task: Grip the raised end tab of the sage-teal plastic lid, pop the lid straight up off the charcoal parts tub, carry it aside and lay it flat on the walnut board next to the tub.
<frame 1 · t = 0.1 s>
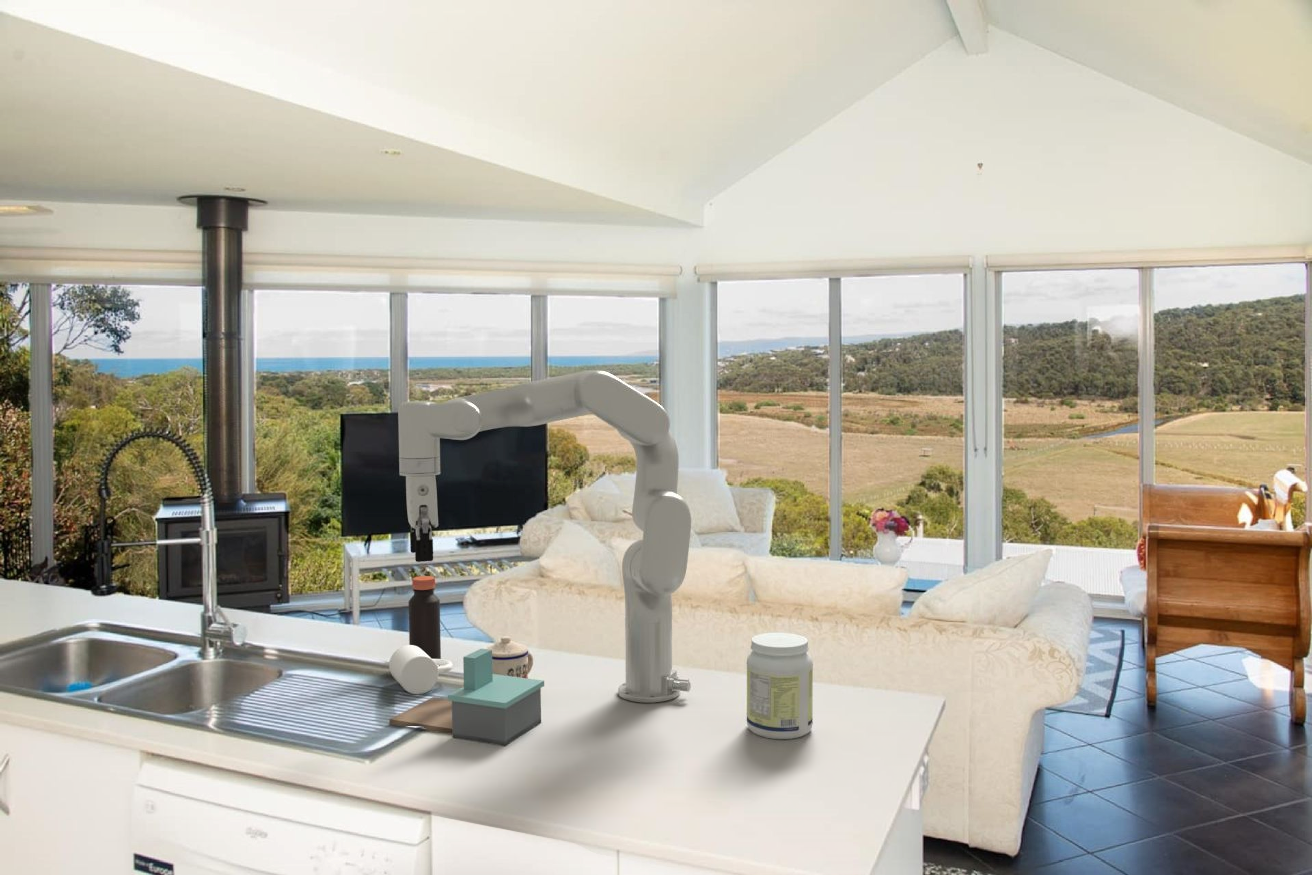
hand: (421, 556, 199), 31 cm above the worktop, tool pointing down, fingers open, 9 cm apart
lid: (497, 692, 194), point 7 cm above the worktop, touching tub
mug: (423, 687, 221), on the worktop
supplement tub: (779, 730, 194), on the worktop
teacup with lid: (511, 691, 217), on the worktop
board: (442, 717, 201), on the worktop
tub: (497, 729, 194), on the worktop
bottle: (425, 667, 235), on the worktop
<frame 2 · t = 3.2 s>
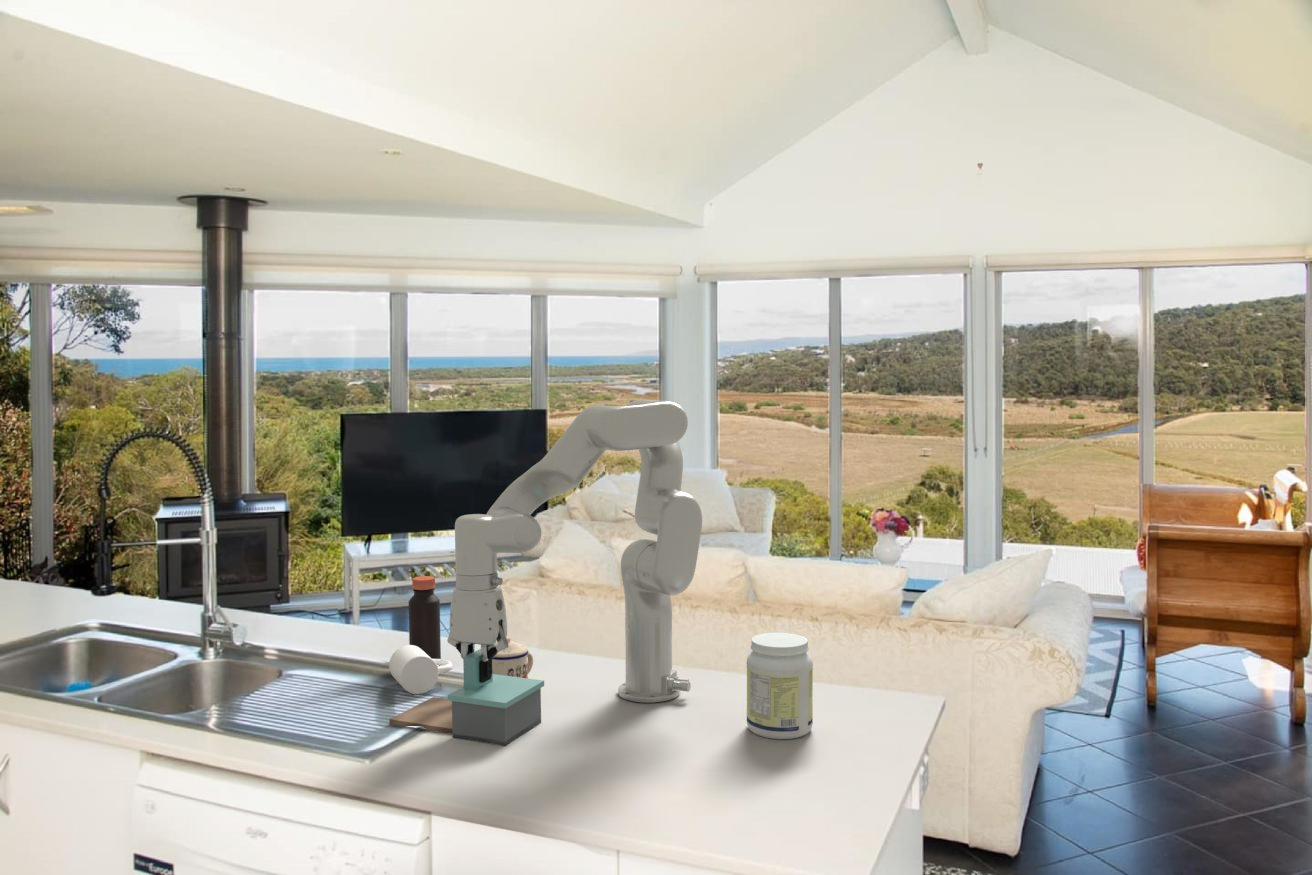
hand: (478, 678, 195), 9 cm above the worktop, tool pointing down, fingers closed on lid
lid: (497, 692, 194), point 7 cm above the worktop, touching gripper, tub
everything else where it was.
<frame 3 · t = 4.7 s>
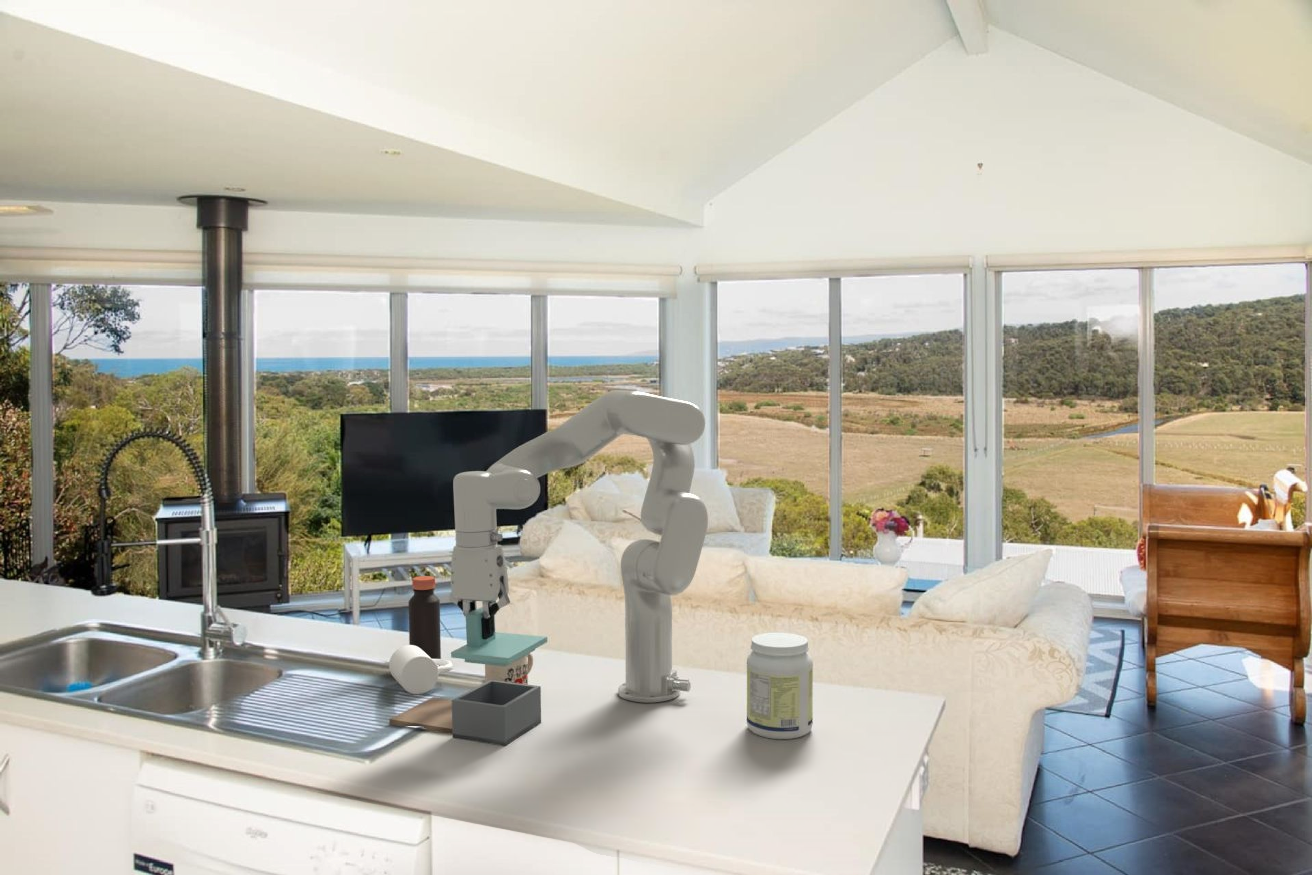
hand: (480, 636, 195), 17 cm above the worktop, tool pointing down, fingers closed on lid
lid: (500, 649, 193), point 15 cm above the worktop, touching gripper
everything else where it was.
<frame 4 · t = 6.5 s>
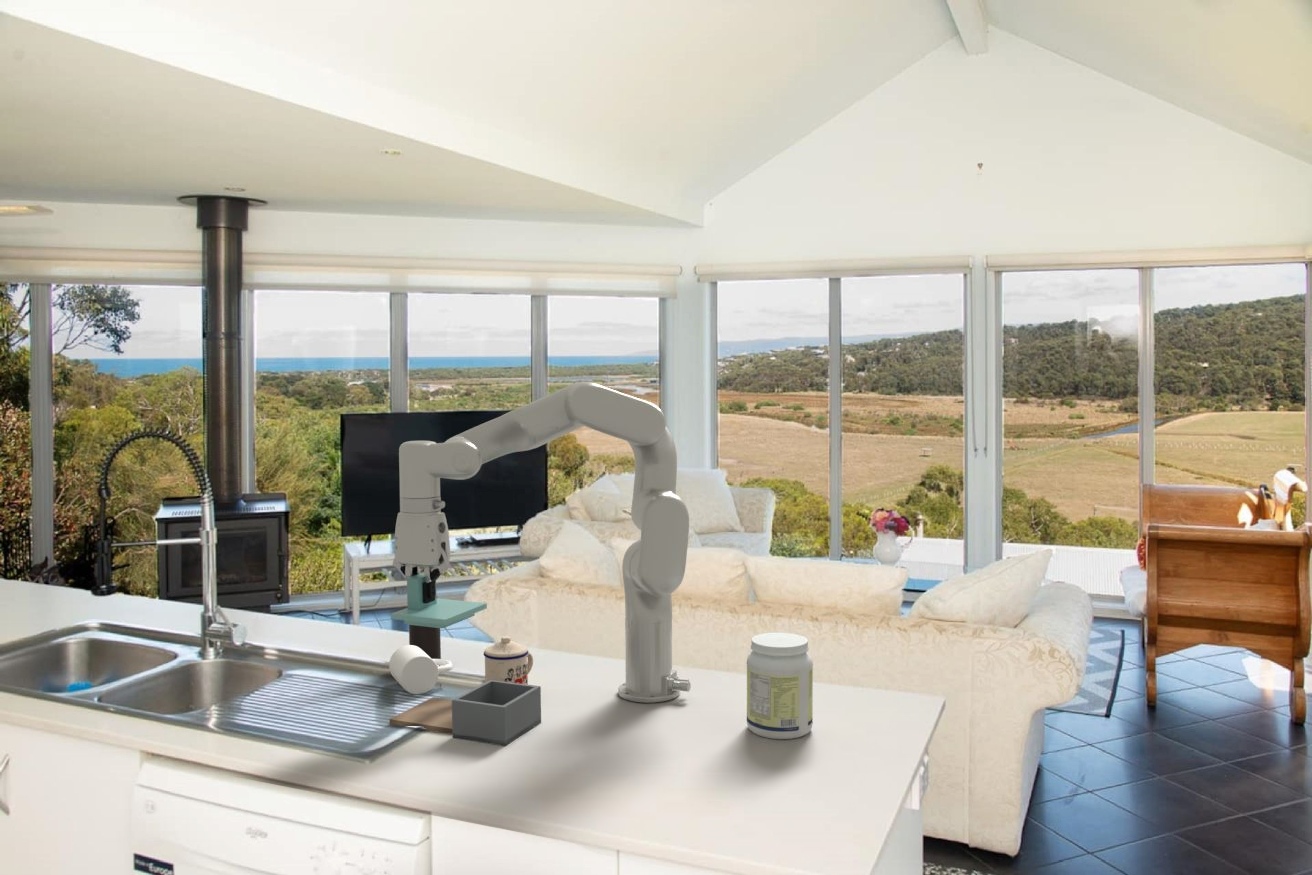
hand: (422, 600, 201), 22 cm above the worktop, tool pointing down, fingers closed on lid
lid: (439, 613, 200), point 20 cm above the worktop, touching gripper
everything else where it was.
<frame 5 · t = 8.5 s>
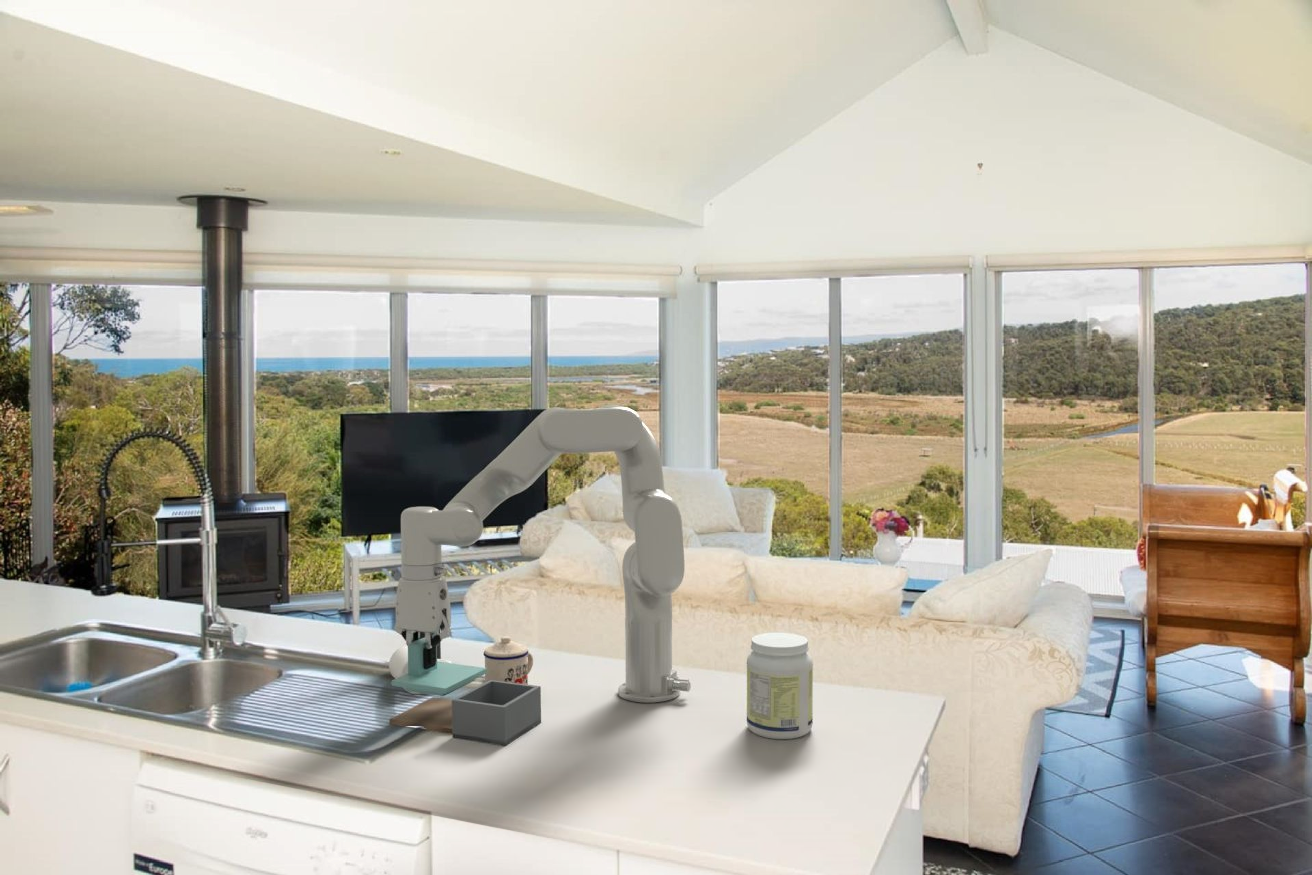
hand: (422, 665, 202), 10 cm above the worktop, tool pointing down, fingers closed on lid
lid: (440, 679, 200), point 7 cm above the worktop, touching gripper
everything else where it was.
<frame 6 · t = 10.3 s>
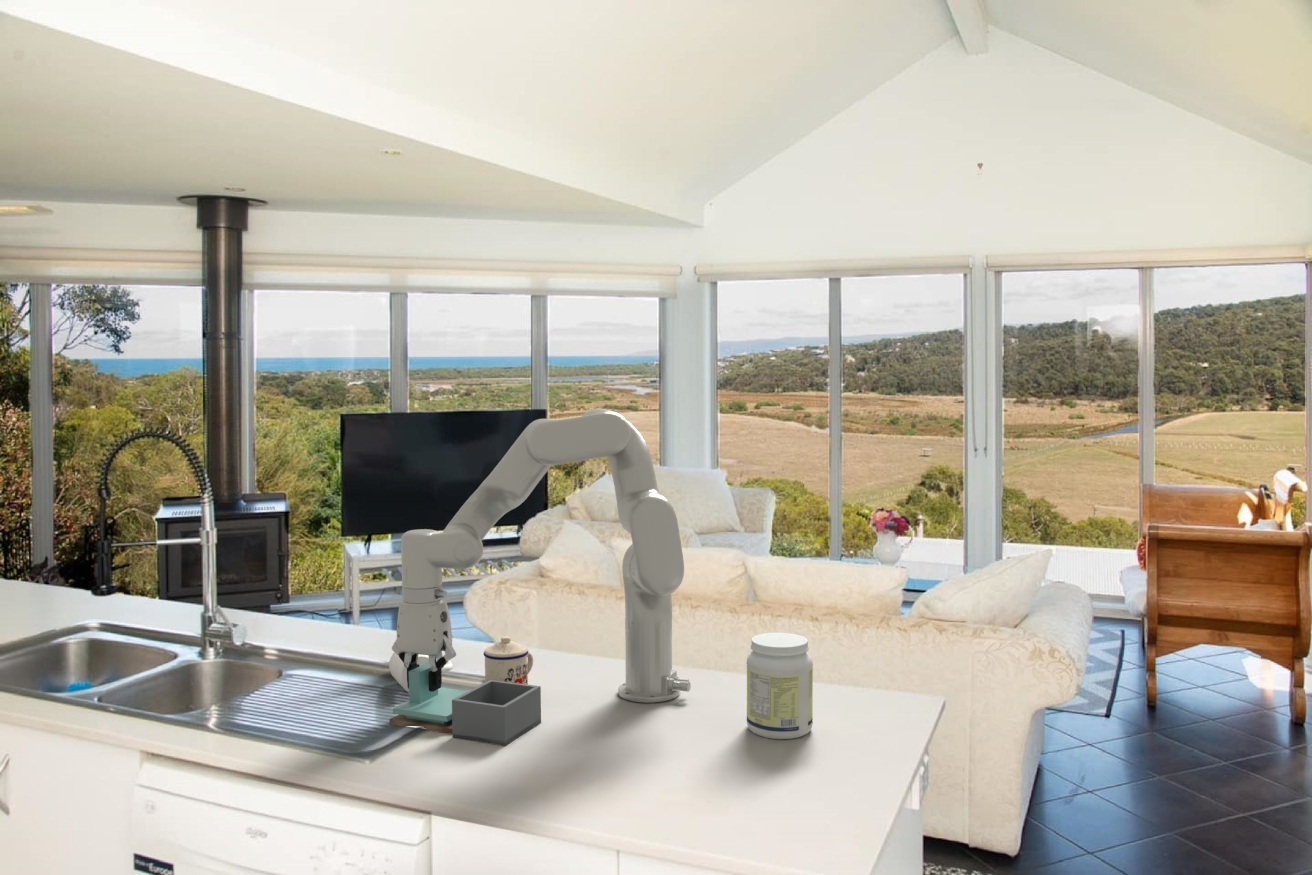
hand: (424, 687, 202), 5 cm above the worktop, tool pointing down, fingers open, 4 cm apart
lid: (441, 705, 201), point 2 cm above the worktop, touching board
everything else where it was.
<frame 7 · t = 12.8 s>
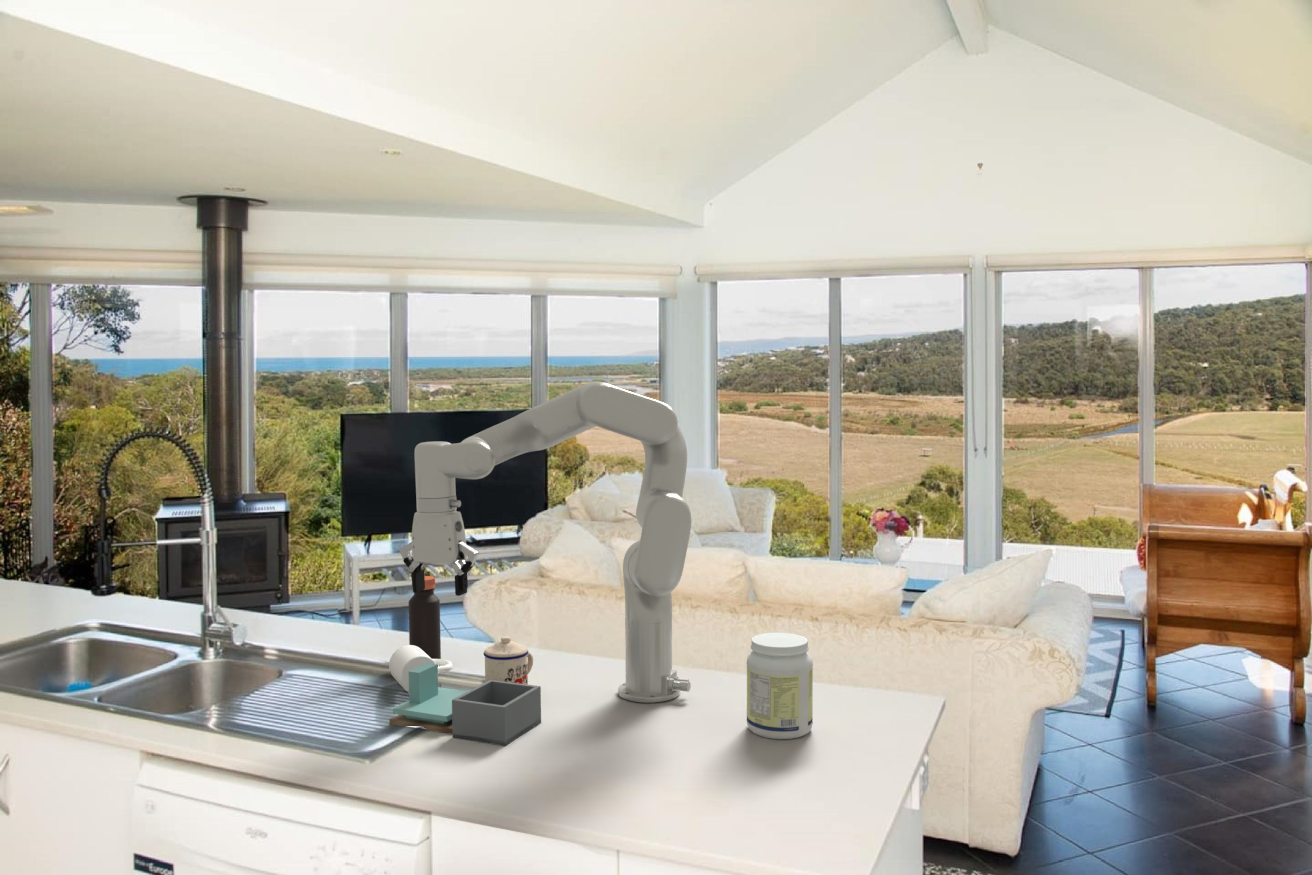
hand: (440, 592, 205), 23 cm above the worktop, tool pointing down, fingers open, 9 cm apart
nothing on the worktop moved.
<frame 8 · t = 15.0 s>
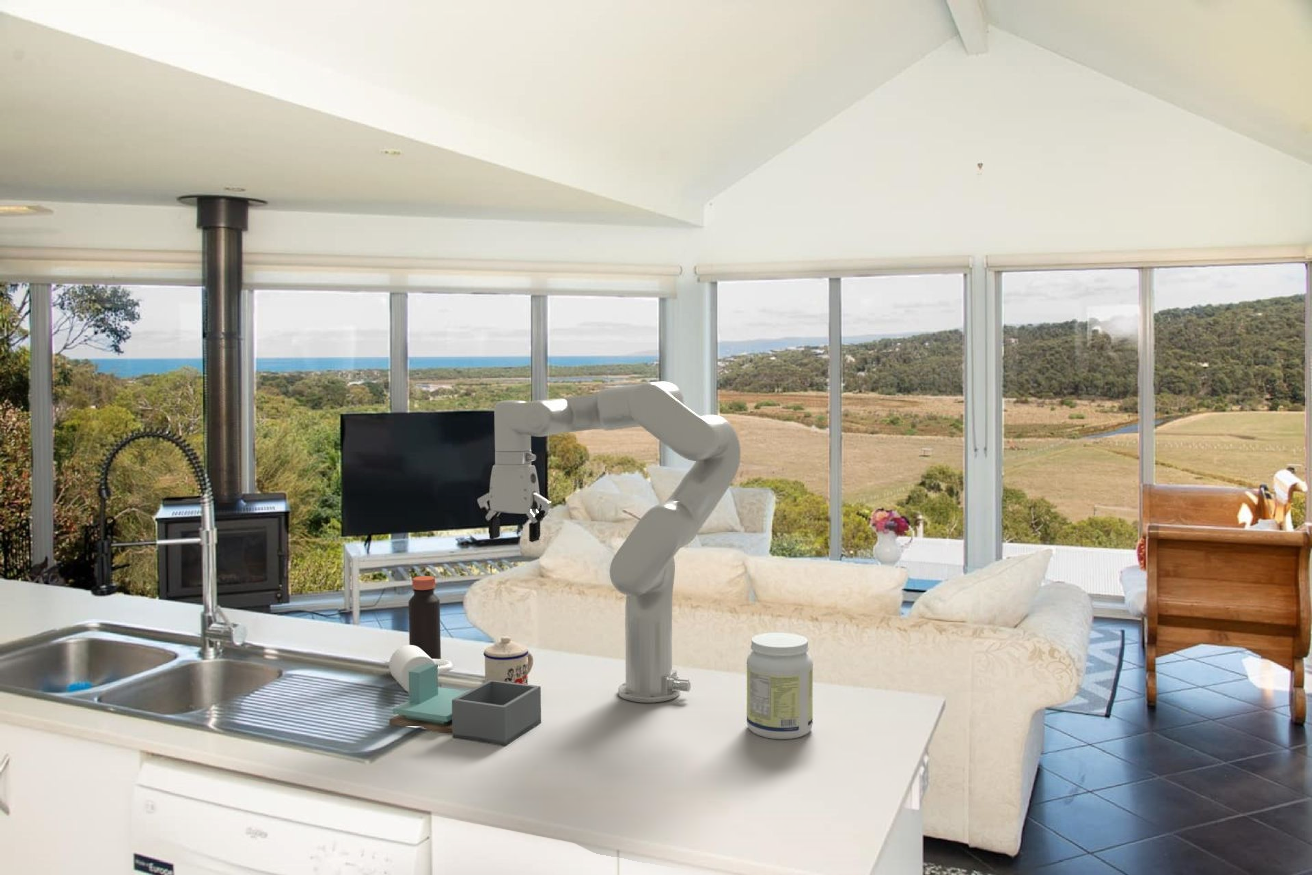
hand: (514, 539, 222), 30 cm above the worktop, tool pointing down, fingers open, 9 cm apart
nothing on the worktop moved.
at the end: lid 0.2 cm off-centre on the board, point 2.2 cm above the board's base; lid tilted 0°; the gripper is holding nothing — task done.
